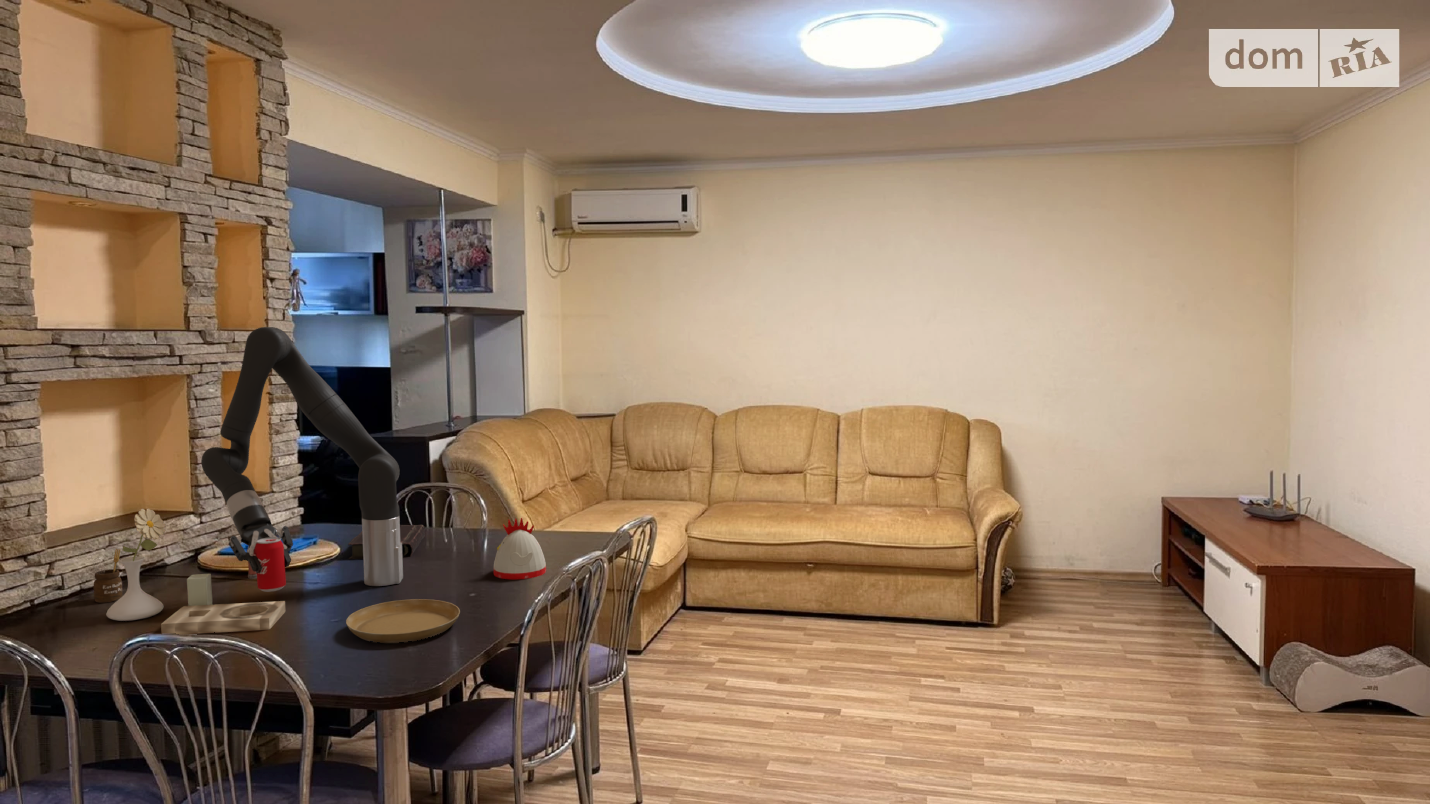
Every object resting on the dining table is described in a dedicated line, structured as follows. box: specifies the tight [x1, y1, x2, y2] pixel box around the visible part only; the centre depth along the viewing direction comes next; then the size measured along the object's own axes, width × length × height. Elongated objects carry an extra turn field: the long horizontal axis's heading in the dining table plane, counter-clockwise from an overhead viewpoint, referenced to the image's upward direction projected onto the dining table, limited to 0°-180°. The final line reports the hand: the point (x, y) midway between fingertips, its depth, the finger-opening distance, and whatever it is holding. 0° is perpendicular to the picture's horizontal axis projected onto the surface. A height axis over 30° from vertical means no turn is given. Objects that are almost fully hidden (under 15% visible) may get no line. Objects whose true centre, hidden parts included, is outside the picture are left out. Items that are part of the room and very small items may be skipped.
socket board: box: [160, 600, 286, 635], centre depth 217 cm, size 22×13×3 cm, turn 100°
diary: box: [347, 524, 426, 560], centre depth 289 cm, size 19×25×5 cm
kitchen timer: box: [493, 517, 547, 580], centre depth 260 cm, size 14×14×15 cm
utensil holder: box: [92, 548, 123, 604], centre depth 237 cm, size 6×6×12 cm
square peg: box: [186, 573, 213, 606], centre depth 225 cm, size 4×4×9 cm
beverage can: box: [255, 536, 287, 593], centre depth 231 cm, size 6×6×12 cm
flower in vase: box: [105, 508, 166, 622], centre depth 223 cm, size 13×11×25 cm
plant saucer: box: [345, 598, 461, 644], centre depth 214 cm, size 24×24×3 cm
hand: (273, 567), depth 230 cm, fingers closed on beverage can, 6 cm apart
